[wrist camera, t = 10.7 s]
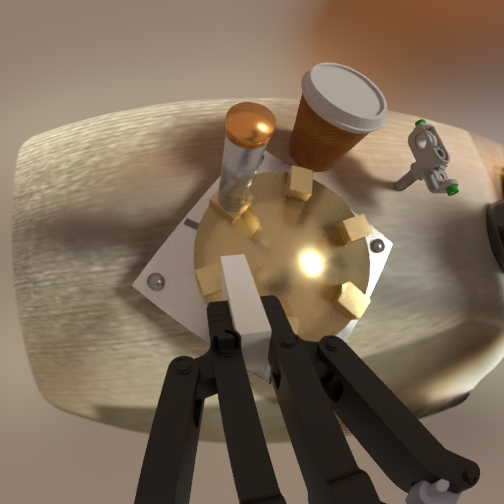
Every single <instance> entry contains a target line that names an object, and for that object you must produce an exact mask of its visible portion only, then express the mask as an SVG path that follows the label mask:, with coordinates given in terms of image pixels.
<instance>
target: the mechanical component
mask: <svg viewBox="0 0 504 504" xmlns="http://www.w3.org/2000/svg"><path fill="white" fill-rule="evenodd" d="M415 125H416V127H415V128H414V131H413V132H412V133H411V134H410V135H409V137H408V144H409V147H410V149H411V151H412V153H413V155H414V157H415V159H416V162H415V163H412V164H411V170H410V171H409V172H408V173H407V174H405V175H404V176H403V177H402V178H401V179H399V180H398V181H397V182H396V183H395V187H396V189H397V190H402V189H403V190H404V189H406V188H407V187H408V186H410V185H411V184H412V183H414V182H415V181H416V180H417V179H418V180H425V182H426V185H427V187H428V189H429V191H430V192H432V193H447V194H448V196H451V195H454V194H456V193H458V192H459V190H458V188H457V186H458V182H457V180H456V179H448V177H447V174H446V172H445V169H446V167H447V163H448V162H449V161H450V156H449V154H448V152H447V150H446V149H445V147H444V145H443V143H442V141H441V139H440V137H439V135H438V133H437V132H436V130H435V128H434V126H433V125H431V124H427V123H426V122H425V120H423V119H421V120H418V121H417V122H416V123H415ZM437 144H438V145H437ZM440 175H441V176H442V178H443V179H441V177H440Z"/></svg>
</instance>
